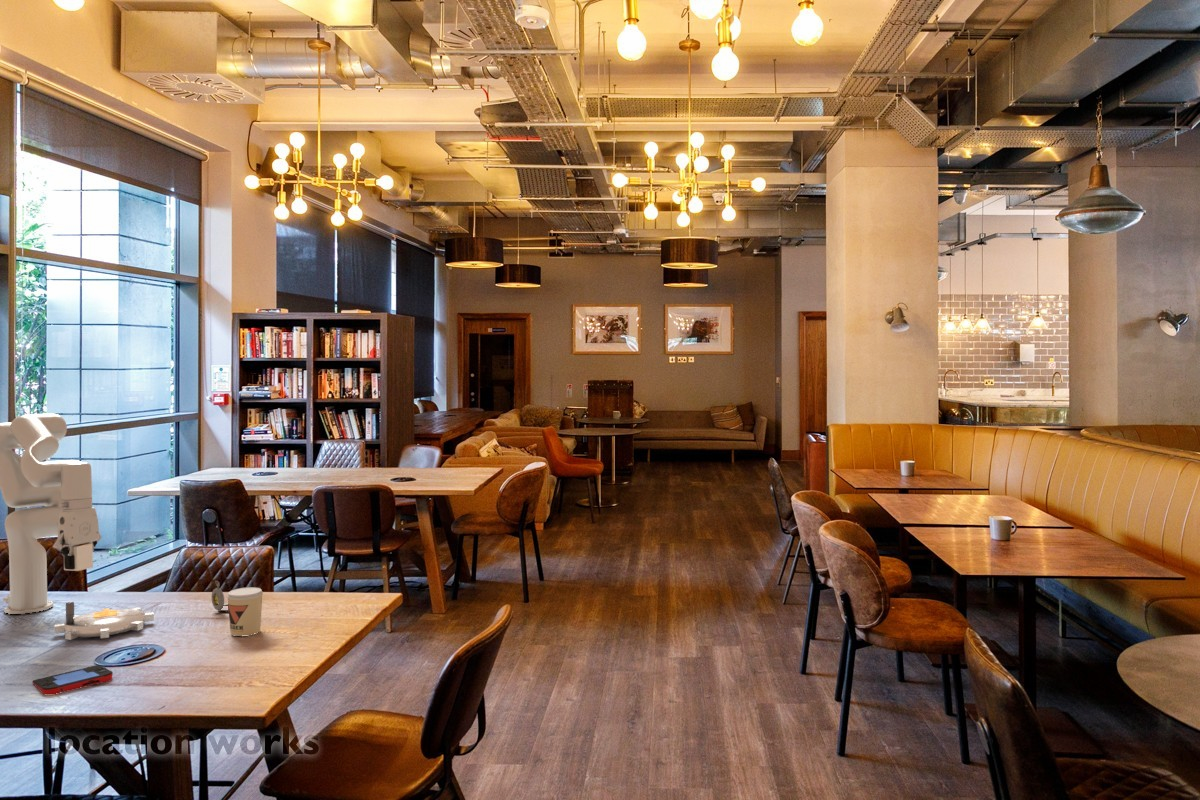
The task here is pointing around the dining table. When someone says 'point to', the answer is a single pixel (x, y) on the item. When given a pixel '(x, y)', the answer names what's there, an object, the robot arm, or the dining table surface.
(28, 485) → the robot arm
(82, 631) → the sprocket
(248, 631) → the coffee cup
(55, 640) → the dining table surface
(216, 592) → the pocket watch
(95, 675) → the game console
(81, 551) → the link block
